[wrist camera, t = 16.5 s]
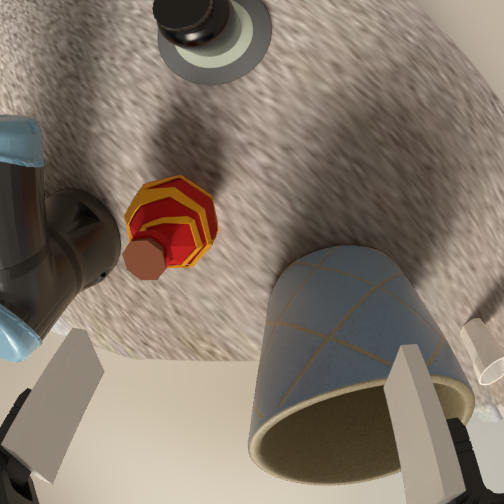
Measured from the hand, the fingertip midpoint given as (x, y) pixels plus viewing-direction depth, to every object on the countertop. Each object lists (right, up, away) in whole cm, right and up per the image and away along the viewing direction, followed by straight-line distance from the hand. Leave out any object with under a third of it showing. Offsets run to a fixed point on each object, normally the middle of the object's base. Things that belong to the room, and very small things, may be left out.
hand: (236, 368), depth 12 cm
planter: (+13, -3, +33) cm, 36 cm away
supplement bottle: (-4, +29, +17) cm, 34 cm away
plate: (-4, +29, +17) cm, 34 cm away
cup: (+40, -9, +34) cm, 54 cm away
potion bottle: (-8, +11, +28) cm, 31 cm away
